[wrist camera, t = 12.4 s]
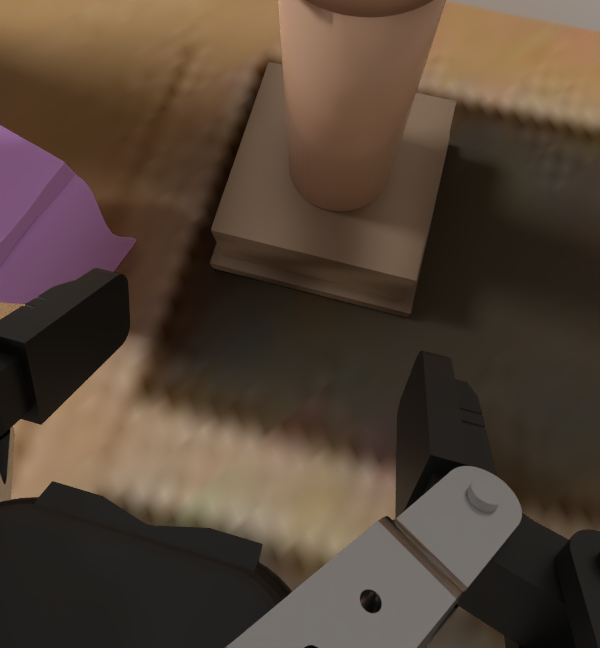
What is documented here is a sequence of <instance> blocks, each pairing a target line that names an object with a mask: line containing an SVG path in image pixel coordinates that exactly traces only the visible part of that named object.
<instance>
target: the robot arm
mask: <svg viewBox="0 0 600 648" xmlns="http://www.w3.org/2000/svg"><path fill="white" fill-rule="evenodd" d="M129 328H130V314H129V292H128V281H127V278H126V276H125V275H123V274H120V273H116V272H112V271H108V270H104V269H100V268H94V269H92V270H91V271H89V272H87V273H86V274H84V275H83V276H81V277H80V278H78V279H77V280H75V281H74V280H73V281H70V282H66V283H63V284H60V285H57V286H54V287H52V288H50V289H48V290H47V291H45V292H44V293H42V294H41V295H39V296H38V298H34V299H33V300H31V301H29V302H28V303H26V305H25V306H21V307H20V308H18V309H17V310H15V311H13V312H12V313H10V314H9V315H7V316H5V317H4V318H2V319H1V320H0V648H426V647H427V646H428V645H429V644H430V642H431V641H432V640H433V638H434V637H435V636H436V635H437V633H438V632H439V631H440V630H441V628H442V627H443V626H444V625H445V623H446V622H447V621H448V620H449V618H450V617H451V616H452V615H453V613H454V612H455V611H456V610H457V608H458V607H459V606H460V607H462V608H463V609H465V610H466V611H468V612H469V613H471V614H472V615H474V616H475V617H477V618H478V619H480V620H481V621H483V622H485V623H486V624H488V625H489V626H491V627H492V628H494V629H495V630H497V631H498V632H500V633H501V634H503V635H504V637H505V645H506V648H600V531H596V530H581V531H578V532H577V533H575V534H574V535H573V536H572V537H571V539H570V540H568V539H566V538H564V537H562V536H561V535H559V534H557V533H555V532H553V531H551V530H550V529H548V528H546V527H544V526H542V525H540V524H539V523H537V522H535V521H533V520H532V519H530V518H529V517H527V516H526V515H524V514H523V513H522V510H521V505H520V503H519V501H518V499H517V497H516V495H515V494H514V492H513V491H512V490H511V489H510V488H509V486H508V485H507V484H506V483H504V482H503V481H502V480H501V479H500V478H498V477H497V476H496V472H495V468H494V463H493V459H492V455H491V450H490V446H489V442H488V437H487V433H486V430H485V429H484V428H485V424H484V420H483V416H481V415H482V411H481V407H480V403H479V398H478V397H477V395H476V394H475V393H474V391H473V390H472V388H471V387H470V386H469V384H468V383H467V382H464V381H460V380H456V379H454V373H453V367H452V361H451V358H449V357H445V356H441V355H437V354H433V353H429V352H425V351H420V352H419V354H418V356H417V358H416V361H415V363H414V366H413V368H412V371H411V374H410V376H409V379H408V381H407V384H406V387H405V389H404V392H403V394H402V397H401V400H400V404H399V409H398V414H397V453H396V518H395V519H394V520H393V521H392V520H391V519H390V518H389V517H388V516H386V517H383V518H381V519H380V520H378V521H377V522H376V523H374V524H373V525H372V526H371V527H370V528H368V529H367V530H366V531H365V532H364V533H362V534H361V535H360V536H359V537H358V538H356V539H355V540H354V541H353V542H352V543H350V544H349V545H348V546H347V547H346V548H344V549H343V550H342V551H341V552H340V553H338V554H337V555H336V556H335V557H334V558H332V559H331V560H330V561H329V562H328V563H326V564H325V565H324V566H323V567H322V568H320V569H319V570H318V571H317V572H316V573H314V574H313V575H312V576H311V577H310V578H308V579H307V580H306V581H305V582H304V583H302V584H301V585H300V586H299V587H298V588H296V589H295V590H294V591H293V592H292V590H291V589H290V588H289V587H288V586H287V585H286V583H285V582H284V581H283V580H282V579H281V578H280V577H279V576H278V575H276V574H275V573H274V572H273V571H272V570H270V569H269V568H268V567H266V566H265V565H263V564H262V563H260V562H259V558H260V553H261V549H262V544H261V543H257V542H254V541H251V540H247V539H244V538H241V537H237V536H234V535H231V534H227V533H224V532H221V531H217V530H214V529H210V528H195V527H171V526H152V525H148V524H145V523H143V522H142V521H140V520H138V519H137V518H135V517H134V516H132V515H131V514H129V513H128V512H126V511H125V510H123V509H121V508H120V507H118V506H117V505H115V504H114V503H112V502H111V501H109V500H108V499H106V498H104V497H103V496H100V495H97V494H93V493H90V492H87V491H83V490H80V489H77V488H73V487H70V486H67V485H63V484H60V483H57V482H53V481H52V482H51V484H50V485H49V486H48V487H47V488H46V489H45V491H44V492H43V493H42V494H41V495H40V497H32V498H19V499H13V500H11V489H12V473H13V456H14V440H15V433H14V428H13V425H14V424H15V423H16V422H17V421H19V420H20V419H23V420H27V421H30V422H34V423H37V424H41V425H42V424H43V423H44V422H45V421H46V420H47V419H48V418H49V417H50V416H51V415H52V414H53V413H54V412H55V411H56V410H57V409H58V408H59V407H60V406H61V405H62V404H63V403H64V402H65V401H66V400H67V399H68V398H69V397H70V396H71V395H72V394H73V393H74V392H75V391H76V390H77V389H78V388H79V387H80V386H81V385H82V384H83V383H84V382H85V381H86V380H87V379H88V378H89V377H90V376H91V375H92V374H93V373H94V372H95V371H96V370H97V369H98V368H99V367H100V366H101V365H102V364H103V363H104V362H105V361H106V360H107V359H108V358H109V357H110V356H111V355H112V354H113V353H114V352H115V351H116V350H117V349H118V348H119V347H120V346H121V345H122V344H123V343H124V342H125V340H126V338H127V335H128V332H129Z"/></svg>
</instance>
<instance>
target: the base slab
mask: <svg viewBox="0 0 600 648" xmlns="http://www.w3.org/2000/svg"><path fill="white" fill-rule="evenodd" d="M455 105H456V101H453V100H448V99H443V98H438V97H434V96H429V95H424V94H420V93H416V95H415V98H414V102H413V105H412V108H411V111H410V114H409V117H408V120H407V123H406V127H405V130H404V133H403V136H402V139H401V142H400V145H399V148H398V152H397V155H396V158H395V161H394V164H393V167H392V170H391V173H390V177H389V180H388V183H387V185H386V187H385V188H384V190H383V191H382V193H381V194H380V195H379V196H378V197H377V198H376V199H375V200H374V201H372V202H371V203H369V204H368V205H366V206H364V207H361V208H359V209H355V210H351V211H342V212H340V211H330V210H325V209H322V208H319V207H317V206H315V205H313V204H311V203H310V202H308V201H307V200H306V199H304V198H303V197H302V196H301V195H300V194H299V192H298V191H297V190H296V188H295V186H294V185H293V182H292V180H291V177H290V172H289V158H288V142H287V127H286V111H285V96H284V80H283V65H282V64H278V63H273V62H268V65H267V68H266V71H265V74H264V77H263V80H262V83H261V85H260V88H259V91H258V94H257V97H256V100H255V103H254V106H253V109H252V112H251V114H250V117H249V120H248V123H247V126H246V129H245V132H244V135H243V138H242V141H241V143H240V146H239V149H238V152H237V155H236V158H235V161H234V164H233V167H232V170H231V172H230V175H229V178H228V181H227V184H226V187H225V190H224V193H223V196H222V199H221V201H220V204H219V207H218V210H217V213H216V216H215V219H214V222H213V225H212V228H211V232H212V234H213V236H214V238H215V240H216V242H217V243H216V246H215V249H214V252H213V255H212V257H211V260H210V264H211V266H212V268H214V269H218V270H222V271H226V272H230V273H233V274H237V275H241V276H245V277H249V278H253V279H257V280H261V281H265V282H269V283H273V284H277V285H281V286H285V287H289V288H293V289H296V290H300V291H304V292H308V293H312V294H316V295H320V296H324V297H328V298H332V299H336V300H340V301H344V302H348V303H352V304H356V305H359V306H363V307H367V308H371V309H375V310H379V311H383V312H387V313H391V314H395V315H399V316H403V317H407V318H408V316H409V315H410V314H411V311H412V306H413V302H414V297H415V293H416V288H417V283H418V279H419V274H420V270H421V265H422V261H423V256H424V252H425V247H426V243H427V238H428V234H429V229H430V225H431V220H432V216H433V211H434V207H435V202H436V198H437V193H438V189H439V184H440V180H441V175H442V171H443V166H444V162H445V157H446V153H447V148H448V144H449V139H450V135H449V132H450V127H451V123H452V118H453V114H454V109H455Z"/></svg>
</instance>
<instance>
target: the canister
mask: <svg viewBox="0 0 600 648" xmlns="http://www.w3.org/2000/svg"><path fill="white" fill-rule="evenodd" d="M278 2H279V18H280V33H281V49H282V65H283V80H284V96H285V111H286V127H287V142H288V158H289V172H290V177H291V180H292V182H293V185H294V186H295V188H296V190H297V191H298V192H299V194H300V195H301V196H302V197H303V198H304V199H306V200H307V201H308V202H310V203H311V204H313V205H315V206H317V207H319V208H322V209H325V210H330V211H340V212H342V211H351V210H355V209H359V208H361V207H364V206H366V205H368V204H369V203H371V202H372V201H374V200H375V199H376V198H377V197H378V196H379V195H380V194H381V193H382V191H383V190H384V188H385V187H386V185H387V183H388V180H389V177H390V173H391V170H392V167H393V164H394V161H395V158H396V155H397V152H398V148H399V145H400V142H401V139H402V136H403V133H404V130H405V127H406V123H407V120H408V117H409V114H410V111H411V108H412V105H413V102H414V98H415V95H416V92H417V89H418V86H419V83H420V80H421V77H422V73H423V70H424V67H425V64H426V61H427V58H428V55H429V52H430V48H431V45H432V42H433V39H434V36H435V33H436V30H437V27H438V23H439V20H440V17H441V14H442V11H443V8H444V5H445V2H446V0H278Z"/></svg>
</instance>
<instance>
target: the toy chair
mask: <svg viewBox="0 0 600 648" xmlns="http://www.w3.org/2000/svg"><path fill="white" fill-rule="evenodd" d="M136 241H137V240H136V239H134V238H133V237H120V236H117V235H115V234H113V233H112V232H111V231H110V229H109V228H108V226H107V225H106V223H105V221H104V219H103V216H102V214H101V212H100V209H99V207H98V204H97V202H96V199H95V197H94V194H93V193H92V191H91V189H90V187H89V186H88V185H87V183H86V182H85V181H84V180H83V179H82V178H80V177H79V176H78V175H76V174H75V172H74V171H73V170H72V169H71V168H70V167H69V166H68V165H67V164H66V163H65V162H64V161H62V160H61V159H59V158H57V157H55V156H54V155H52V154H50V153H49V152H47V151H45V150H43V149H42V148H40V147H38V146H36V145H34V144H33V143H31V142H29V141H27V140H25V139H24V138H22V137H20V136H18V135H17V134H15V133H13V132H11V131H10V130H8V129H6V128H5V127H3V126H1V125H0V302H4V303H20V304H26V303H28V302H29V301H31V300H33V299H34V298H38V296H39V295H41V294H42V293H44V292H45V291H47V290H48V289H50V288H52V287H54V286H57V285H60V284H63V283H66V282H70V281H73V280H74V281H75V280H77V279H78V278H80V277H81V276H83V275H84V274H86V273H87V272H89V271H91V270H92V269H94V268H100V269H104V270H108V271H112V272H114V271H115V270H116V268H117V267H118V266H119V264H120V263H121V261H122V260H123V259H124V257H125V256H126V255H127V253H128V252H129V251H130V249H131V248H132V247H133V245H134V244H135V243H136Z"/></svg>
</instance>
